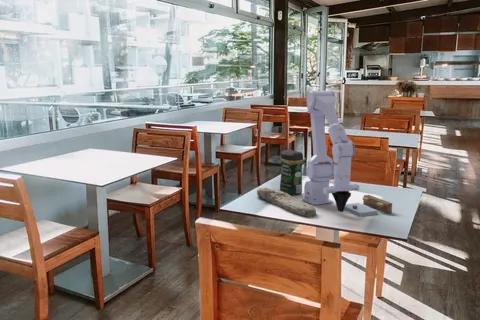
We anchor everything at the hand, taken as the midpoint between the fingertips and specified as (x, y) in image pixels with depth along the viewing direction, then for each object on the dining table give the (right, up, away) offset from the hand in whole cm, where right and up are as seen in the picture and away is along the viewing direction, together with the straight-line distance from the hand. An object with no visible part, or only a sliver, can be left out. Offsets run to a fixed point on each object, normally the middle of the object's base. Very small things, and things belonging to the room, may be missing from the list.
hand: (340, 211), depth 159 cm
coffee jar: (-15, +4, +29) cm, 33 cm away
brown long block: (+16, 0, +7) cm, 17 cm away
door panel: (+8, -1, +4) cm, 9 cm away
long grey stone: (-19, +1, +12) cm, 23 cm away
